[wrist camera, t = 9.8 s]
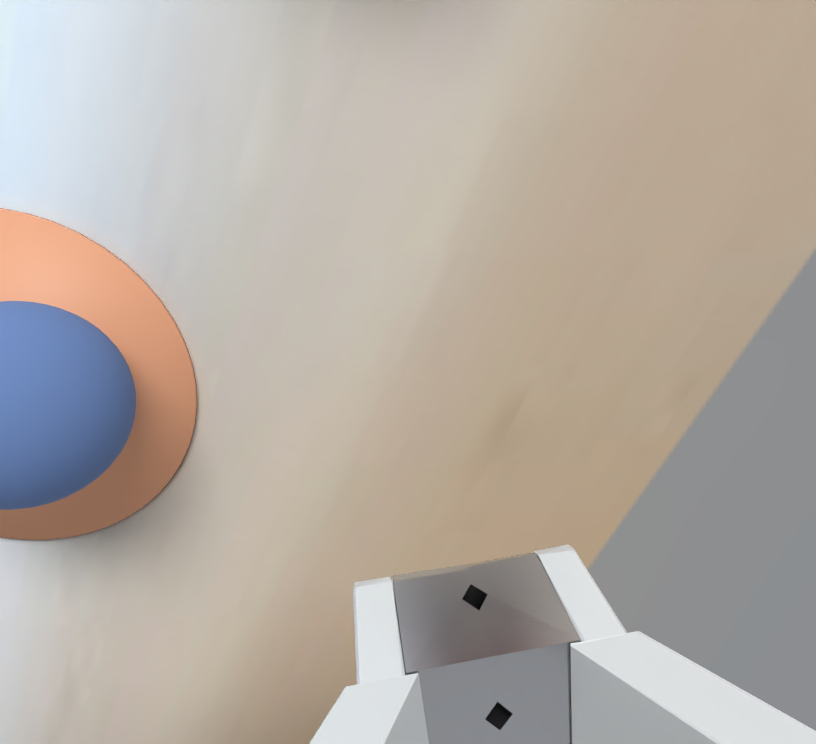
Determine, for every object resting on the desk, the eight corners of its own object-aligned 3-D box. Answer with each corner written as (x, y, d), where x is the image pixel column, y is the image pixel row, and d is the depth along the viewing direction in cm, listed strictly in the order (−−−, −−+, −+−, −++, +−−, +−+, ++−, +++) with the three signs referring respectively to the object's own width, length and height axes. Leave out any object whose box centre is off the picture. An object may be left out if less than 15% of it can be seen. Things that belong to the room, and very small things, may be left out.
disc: (-95, 560, 21) (-99, 564, 21) (-267, 233, 17) (-273, 233, 17) (230, 508, 22) (229, 511, 22) (144, 182, 18) (142, 183, 18)
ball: (100, 545, 15) (173, 452, 21) (58, 316, 13) (150, 285, 19) (-146, 560, 14) (-2, 461, 20) (-221, 325, 13) (-40, 290, 19)
